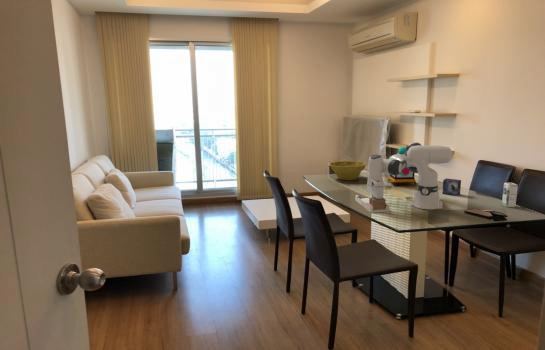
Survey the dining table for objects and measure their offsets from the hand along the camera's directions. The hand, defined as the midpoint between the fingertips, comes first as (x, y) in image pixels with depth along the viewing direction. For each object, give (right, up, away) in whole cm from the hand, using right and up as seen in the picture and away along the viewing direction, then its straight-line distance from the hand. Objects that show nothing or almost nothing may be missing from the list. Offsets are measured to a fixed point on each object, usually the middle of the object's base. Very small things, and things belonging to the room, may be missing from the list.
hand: (374, 202), depth 248 cm
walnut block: (+1, -3, -5) cm, 6 cm away
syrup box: (+84, -2, -3) cm, 84 cm away
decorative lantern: (+39, +10, +66) cm, 77 cm away
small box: (+63, +3, +30) cm, 69 cm away
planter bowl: (0, +14, +90) cm, 91 cm away
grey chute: (0, -3, +5) cm, 6 cm away
